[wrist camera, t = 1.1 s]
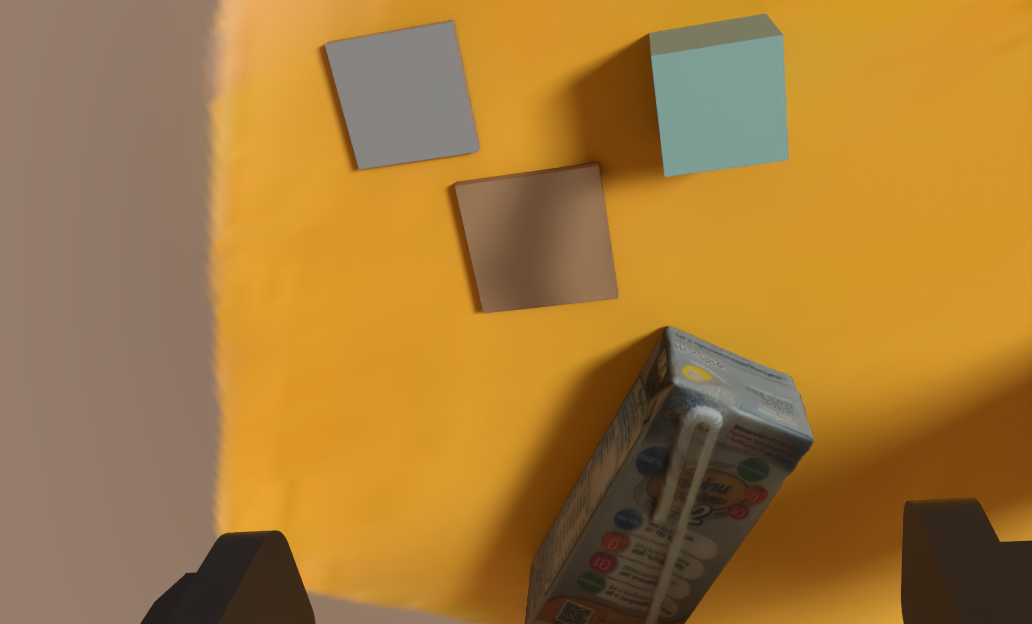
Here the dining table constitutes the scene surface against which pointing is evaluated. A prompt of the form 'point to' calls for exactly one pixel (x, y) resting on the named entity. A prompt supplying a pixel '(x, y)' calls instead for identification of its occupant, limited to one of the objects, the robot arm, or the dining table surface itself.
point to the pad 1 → (404, 95)
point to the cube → (720, 95)
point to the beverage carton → (670, 488)
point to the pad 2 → (539, 238)
